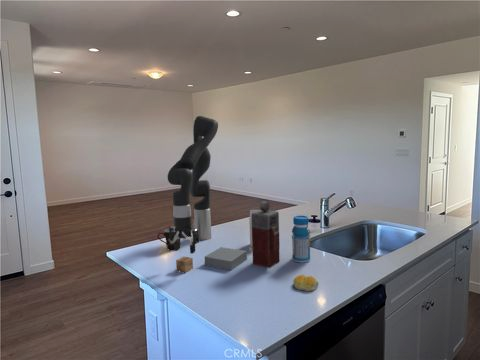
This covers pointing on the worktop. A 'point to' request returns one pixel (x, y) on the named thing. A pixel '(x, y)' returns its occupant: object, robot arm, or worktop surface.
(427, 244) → the worktop surface
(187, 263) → the walnut cube
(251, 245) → the milk carton
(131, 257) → the worktop surface
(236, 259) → the gray square block
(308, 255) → the beverage bottle
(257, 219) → the red rectangular canister
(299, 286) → the bread roll
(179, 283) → the worktop surface
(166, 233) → the coffee mug
